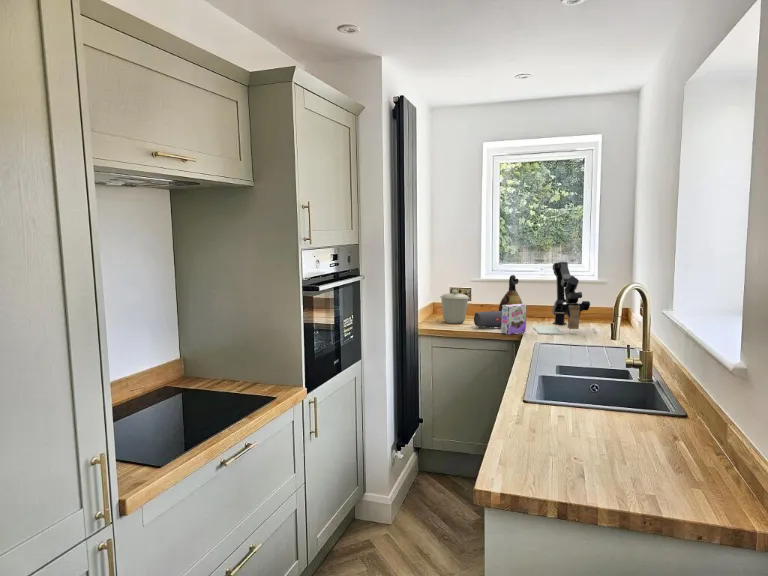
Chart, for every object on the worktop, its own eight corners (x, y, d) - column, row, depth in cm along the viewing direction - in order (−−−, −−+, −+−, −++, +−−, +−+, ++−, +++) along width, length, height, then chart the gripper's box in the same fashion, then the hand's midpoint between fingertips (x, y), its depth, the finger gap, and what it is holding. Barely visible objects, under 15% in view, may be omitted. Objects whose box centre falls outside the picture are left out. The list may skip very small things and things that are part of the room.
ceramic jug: (525, 323, 335) (527, 276, 331) (501, 323, 335) (502, 276, 331) (519, 318, 352) (520, 274, 348) (495, 318, 352) (497, 273, 348)
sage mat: (532, 327, 322) (532, 325, 322) (555, 327, 321) (555, 326, 321) (538, 334, 300) (538, 332, 300) (564, 334, 299) (564, 333, 299)
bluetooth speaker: (479, 329, 312) (480, 313, 311) (473, 326, 321) (473, 310, 320) (514, 328, 319) (514, 311, 318) (506, 325, 328) (506, 309, 326)
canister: (472, 321, 338) (473, 289, 336) (461, 326, 323) (462, 292, 321) (447, 319, 348) (448, 287, 346) (434, 322, 333) (435, 289, 331)
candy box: (507, 335, 297) (508, 306, 295) (500, 333, 302) (501, 304, 301) (525, 333, 304) (527, 304, 302) (518, 331, 309) (520, 303, 307)
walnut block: (567, 327, 303) (568, 305, 301) (576, 327, 302) (577, 305, 301) (569, 328, 299) (570, 306, 297) (578, 329, 298) (579, 306, 296)
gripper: (556, 286, 303) (560, 308, 293) (590, 287, 301) (594, 309, 291) (553, 298, 311) (556, 319, 302) (585, 299, 309) (590, 320, 300)
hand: (574, 317), depth 298 cm, fingers closed on walnut block, 5 cm apart
